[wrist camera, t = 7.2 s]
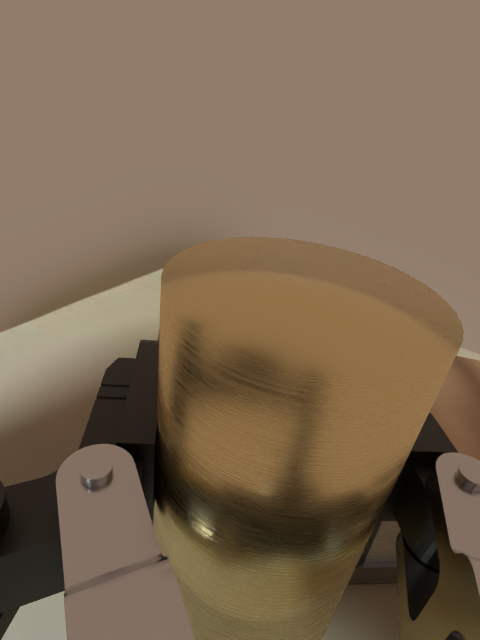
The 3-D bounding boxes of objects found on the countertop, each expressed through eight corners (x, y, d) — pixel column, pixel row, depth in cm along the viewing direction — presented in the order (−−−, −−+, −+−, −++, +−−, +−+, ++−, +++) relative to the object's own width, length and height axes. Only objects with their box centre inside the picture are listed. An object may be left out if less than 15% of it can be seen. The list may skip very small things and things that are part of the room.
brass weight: (142, 714, 9) (147, 369, 4) (157, 516, 14) (168, 228, 9) (345, 695, 10) (542, 384, 5) (299, 513, 14) (383, 247, 10)
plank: (140, 433, 18) (147, 404, 17) (162, 312, 27) (167, 290, 26) (604, 500, 23) (626, 480, 22) (486, 379, 32) (498, 362, 32)
